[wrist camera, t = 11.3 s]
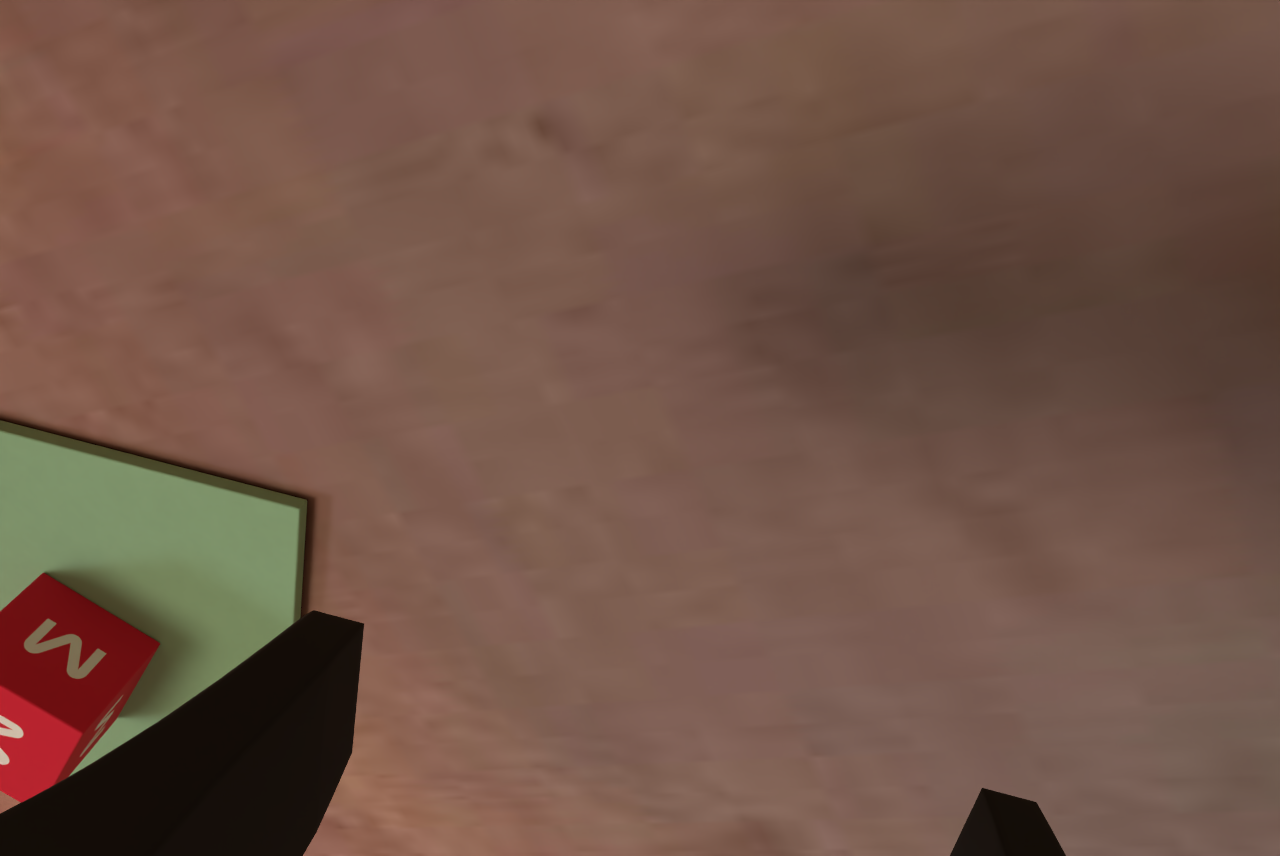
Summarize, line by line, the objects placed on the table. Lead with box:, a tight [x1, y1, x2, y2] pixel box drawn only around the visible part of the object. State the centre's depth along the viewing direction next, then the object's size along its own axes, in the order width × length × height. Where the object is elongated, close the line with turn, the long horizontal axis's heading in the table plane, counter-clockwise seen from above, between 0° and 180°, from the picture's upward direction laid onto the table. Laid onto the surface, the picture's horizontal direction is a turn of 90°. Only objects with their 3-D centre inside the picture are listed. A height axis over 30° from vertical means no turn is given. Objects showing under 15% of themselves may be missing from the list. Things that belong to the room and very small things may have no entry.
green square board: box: [0, 420, 307, 776], centre depth 27 cm, size 11×10×1 cm
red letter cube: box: [0, 573, 160, 803], centre depth 25 cm, size 3×3×3 cm
